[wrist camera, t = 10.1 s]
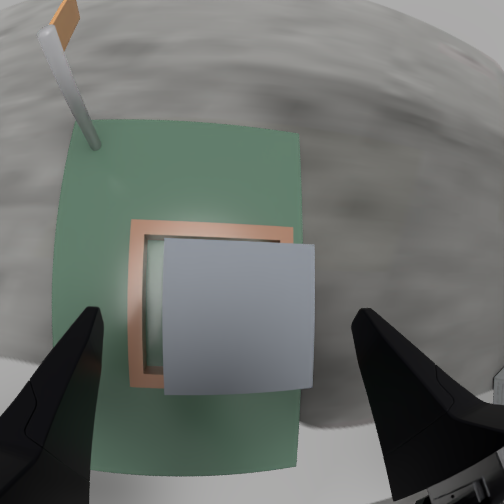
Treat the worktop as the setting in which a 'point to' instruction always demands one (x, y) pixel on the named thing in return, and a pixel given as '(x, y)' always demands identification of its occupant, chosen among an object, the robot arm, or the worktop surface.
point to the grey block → (237, 316)
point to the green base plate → (151, 273)
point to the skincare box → (499, 388)
